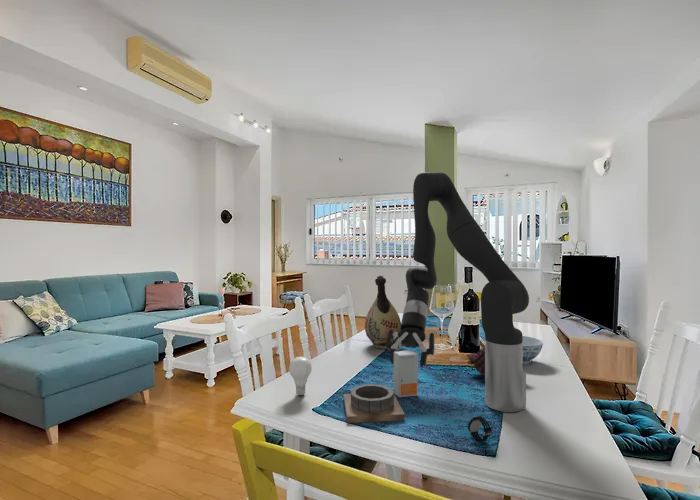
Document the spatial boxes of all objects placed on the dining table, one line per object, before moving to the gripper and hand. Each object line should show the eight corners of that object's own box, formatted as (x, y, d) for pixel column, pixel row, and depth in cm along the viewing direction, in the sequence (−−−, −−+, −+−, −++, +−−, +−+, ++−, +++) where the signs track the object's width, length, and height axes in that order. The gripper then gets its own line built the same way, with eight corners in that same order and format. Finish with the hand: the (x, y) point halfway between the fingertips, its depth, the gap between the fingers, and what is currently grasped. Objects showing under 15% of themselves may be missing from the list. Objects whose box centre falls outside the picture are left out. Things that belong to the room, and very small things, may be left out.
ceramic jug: (364, 341, 170) (364, 273, 169) (399, 341, 169) (399, 273, 169) (364, 352, 153) (364, 276, 152) (403, 352, 152) (403, 276, 152)
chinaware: (498, 365, 135) (498, 343, 135) (497, 353, 149) (497, 334, 149) (546, 369, 130) (546, 347, 130) (539, 357, 144) (539, 336, 144)
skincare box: (398, 398, 107) (398, 355, 107) (393, 392, 111) (393, 351, 111) (418, 395, 109) (418, 353, 108) (412, 390, 113) (412, 349, 113)
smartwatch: (483, 434, 86) (483, 412, 86) (492, 446, 81) (492, 423, 81) (465, 435, 86) (465, 413, 86) (473, 447, 81) (473, 423, 81)
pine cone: (525, 377, 123) (525, 346, 123) (520, 387, 114) (520, 354, 114) (469, 368, 132) (469, 339, 132) (461, 376, 124) (461, 345, 124)
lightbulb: (284, 397, 108) (284, 358, 108) (298, 389, 114) (297, 352, 114) (303, 401, 105) (303, 361, 105) (316, 393, 111) (315, 355, 111)
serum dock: (393, 397, 108) (393, 381, 108) (404, 420, 94) (404, 401, 94) (343, 399, 107) (343, 383, 106) (347, 422, 93) (347, 404, 92)
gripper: (390, 309, 122) (380, 355, 111) (436, 312, 117) (430, 360, 106) (394, 322, 127) (385, 367, 116) (438, 325, 122) (433, 373, 111)
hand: (406, 364), depth 111 cm, fingers open, 8 cm apart
